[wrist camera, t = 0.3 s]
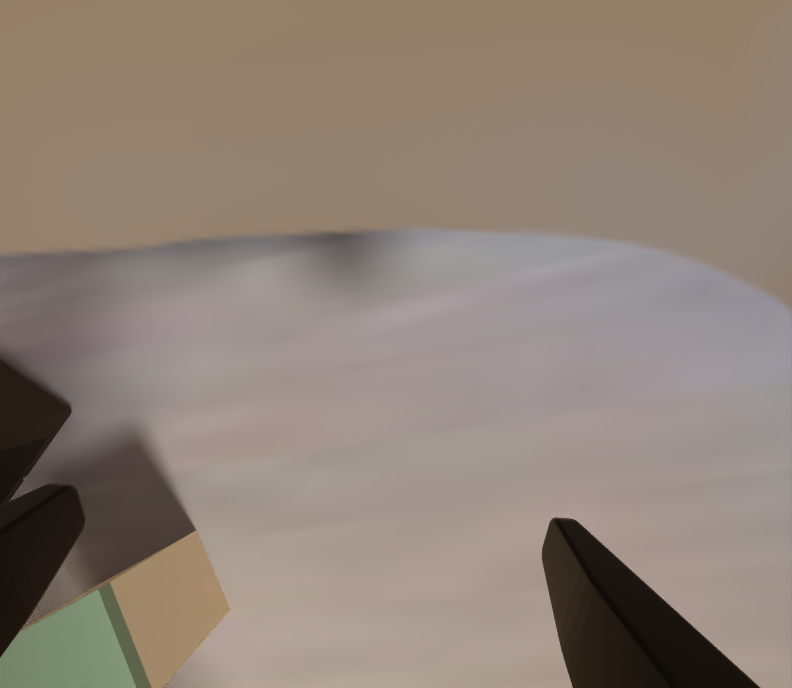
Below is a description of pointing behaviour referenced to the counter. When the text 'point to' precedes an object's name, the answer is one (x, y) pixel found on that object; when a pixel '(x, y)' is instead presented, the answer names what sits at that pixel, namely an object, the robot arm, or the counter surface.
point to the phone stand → (24, 428)
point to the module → (123, 626)
